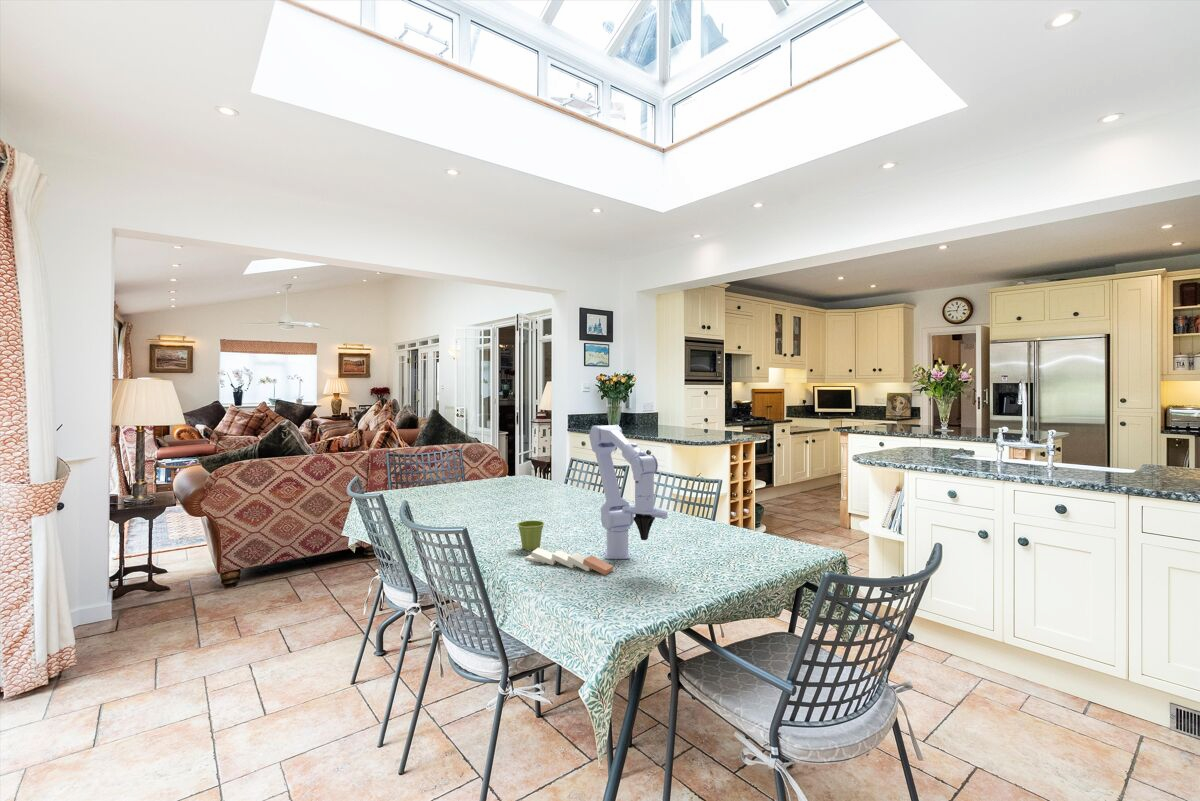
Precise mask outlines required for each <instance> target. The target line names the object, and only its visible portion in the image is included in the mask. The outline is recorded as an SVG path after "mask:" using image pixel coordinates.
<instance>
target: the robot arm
mask: <svg viewBox="0 0 1200 801" xmlns="http://www.w3.org/2000/svg"><path fill="white" fill-rule="evenodd" d="M589 441H590V446H591V450H592V452H594V453H595V457H596V463H597V465H598V470H599V475H600V479H601V480H600V481H601V484H602V488H603V493H604V497H605V502H604V503H603V505H601V508H600V509H599V510H600V521H601V525H602V526H603V528H604V529H605V530H606V548H605V553H604V554H605V557H604V558H605V559H606V560H607V559H608V560H614V559H615V560H617V559H618V560H619V559H622V560H623V559H624V560H625V559H626V560H630V559H631V556H630V549H629V530H630V529H631V526H633V524H634V522H635V525H636V527H637V529H638V533H639V537H640V540H642V541H646V540H648V539H649V536H650V535H649V534H650V530H651V528H652V524H653V523H654V521H655V519H656V518H658V519H662V520H666V519H668V511H667V510H660V509H657V508H654V507H655V502H654V501H655V499H654V497H655V496H654V495H655V484H654V483H655V474H656V473H657V471H658V468H659V462H658V460H657V458H656V457H655V455H654V454H647V453H646V452H645V451H644V450H642V449H641V448H640V446H638V443H636V442H630V441H629V440H628V439H627V438H626V437H625V436H624V435H623V430H622V427H621V426H619V424H611V425H610V424H608V425H598V424H597V425H596V424H595V425H592V426H591V428H590V431H589ZM617 448H618V449H619V450H621V456H622V457H623V458H624V459H625V461H626V462H628V463H629V464H630V468H631V472H632V476H633V477H632V478H633V480H634V506H631V505H630V503H629V502H628V501H627V500H625V499H624V498H622V495H621V491H620V487H619V483H618V482H619V481H618V479H617V474H616V471H615V467H614V462H613V458H612V453H613V452H614V451H615V450H616V449H617Z"/></svg>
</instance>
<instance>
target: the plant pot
mask: <svg viewBox="0 0 1200 801" xmlns="http://www.w3.org/2000/svg"><path fill="white" fill-rule="evenodd" d="M544 526H545V522H543V521H542V520H524V521H519V522H518V523H517V527H518V531H519V534H520V535H519V536H520V542H521V548H523V549H522V550H525V551H531V550H532V551H534V550H535V549H537V548H541V542H542V532H543V528H544Z"/></svg>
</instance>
